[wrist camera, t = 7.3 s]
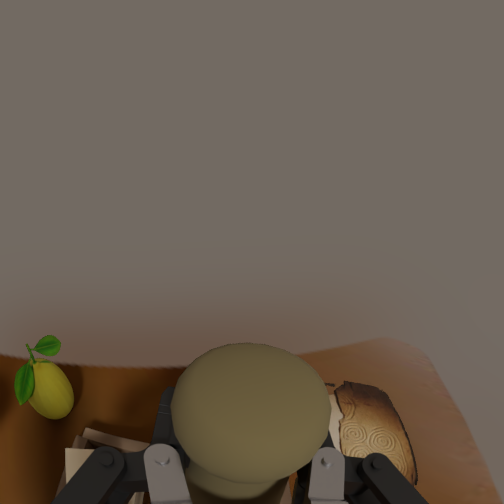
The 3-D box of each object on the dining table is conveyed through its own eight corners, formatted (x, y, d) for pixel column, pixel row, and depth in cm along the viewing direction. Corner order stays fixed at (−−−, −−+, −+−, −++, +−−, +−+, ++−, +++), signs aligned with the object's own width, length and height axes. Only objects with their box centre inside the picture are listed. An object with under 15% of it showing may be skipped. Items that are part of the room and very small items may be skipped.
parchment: (320, 381, 32) (321, 377, 31) (386, 382, 31) (389, 378, 31) (329, 566, 9) (333, 566, 8) (426, 542, 8) (432, 540, 8)
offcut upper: (85, 523, 8) (69, 514, 7) (78, 463, 13) (65, 447, 12) (134, 525, 10) (124, 518, 9) (121, 464, 15) (112, 449, 14)
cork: (212, 438, 15) (225, 301, 11) (296, 475, 12) (370, 353, 9) (157, 498, 10) (106, 385, 6) (252, 548, 7) (325, 505, 3)
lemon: (77, 385, 24) (53, 316, 21) (94, 422, 20) (64, 353, 17) (31, 398, 19) (-3, 330, 16) (42, 438, 16) (-2, 370, 12)
